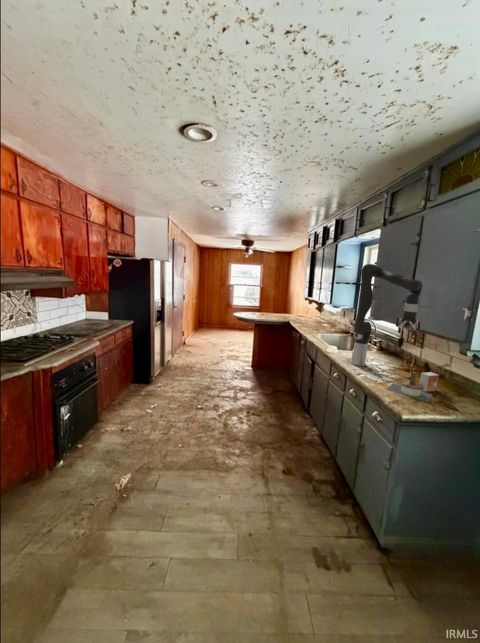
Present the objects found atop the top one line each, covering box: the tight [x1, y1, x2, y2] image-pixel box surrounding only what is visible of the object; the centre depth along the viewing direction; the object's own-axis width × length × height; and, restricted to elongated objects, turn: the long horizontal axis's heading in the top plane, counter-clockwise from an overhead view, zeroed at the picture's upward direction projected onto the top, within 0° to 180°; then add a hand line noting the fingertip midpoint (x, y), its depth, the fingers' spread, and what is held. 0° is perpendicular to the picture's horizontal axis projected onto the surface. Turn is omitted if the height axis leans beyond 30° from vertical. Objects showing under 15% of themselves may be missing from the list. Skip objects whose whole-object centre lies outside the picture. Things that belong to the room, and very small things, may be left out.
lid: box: [400, 371, 424, 391], centre depth 171 cm, size 12×12×8 cm
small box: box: [419, 371, 440, 392], centre depth 179 cm, size 8×6×10 cm
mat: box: [386, 383, 433, 403], centre depth 174 cm, size 22×14×1 cm, turn 48°
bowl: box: [401, 385, 423, 397], centre depth 172 cm, size 10×10×5 cm
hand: (406, 334), depth 194 cm, fingers open, 8 cm apart
